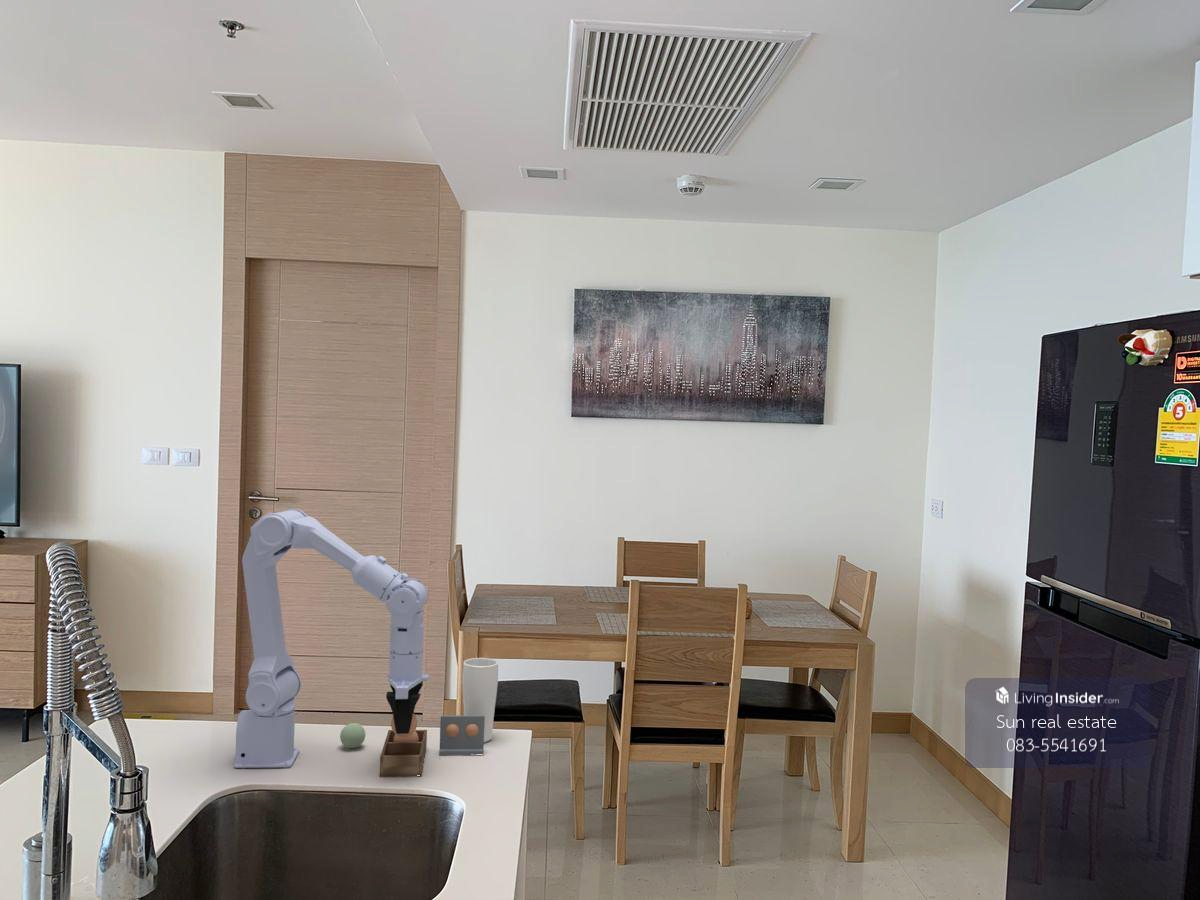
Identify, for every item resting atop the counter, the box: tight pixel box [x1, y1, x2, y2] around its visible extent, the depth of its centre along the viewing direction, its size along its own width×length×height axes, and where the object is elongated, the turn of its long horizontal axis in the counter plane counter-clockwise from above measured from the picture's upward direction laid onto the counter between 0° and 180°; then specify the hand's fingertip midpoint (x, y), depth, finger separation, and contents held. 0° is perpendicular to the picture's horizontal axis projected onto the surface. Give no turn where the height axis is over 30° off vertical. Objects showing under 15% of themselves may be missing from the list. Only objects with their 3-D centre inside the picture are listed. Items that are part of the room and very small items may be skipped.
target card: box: [438, 714, 485, 756], centre depth 168 cm, size 8×3×7 cm, turn 97°
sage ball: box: [339, 722, 366, 749], centre depth 169 cm, size 4×4×4 cm
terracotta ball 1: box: [390, 712, 418, 737], centre depth 159 cm, size 4×4×4 cm
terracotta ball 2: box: [393, 731, 419, 742], centre depth 166 cm, size 4×4×4 cm
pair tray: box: [379, 729, 428, 777], centre depth 163 cm, size 7×14×4 cm, turn 7°
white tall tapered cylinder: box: [461, 657, 499, 743], centre depth 176 cm, size 7×7×15 cm
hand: (403, 728), depth 159 cm, fingers closed on terracotta ball 1, 4 cm apart
